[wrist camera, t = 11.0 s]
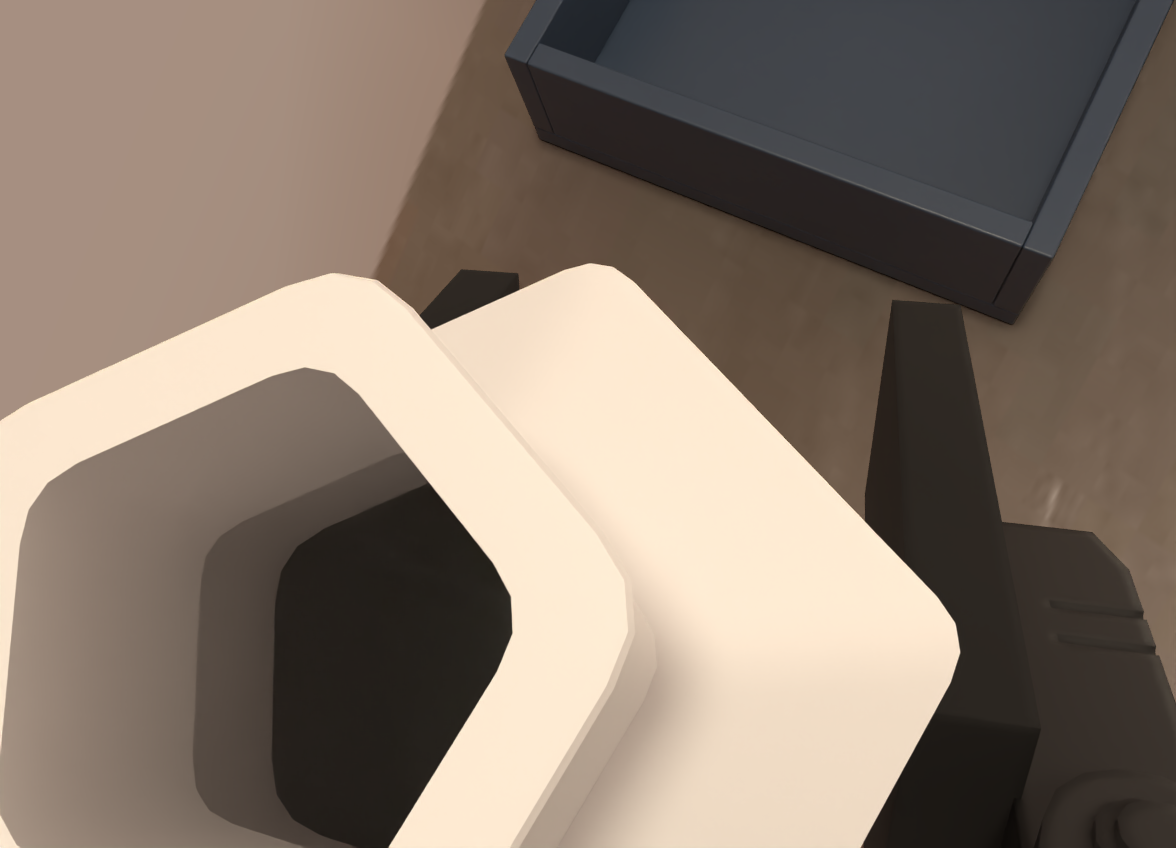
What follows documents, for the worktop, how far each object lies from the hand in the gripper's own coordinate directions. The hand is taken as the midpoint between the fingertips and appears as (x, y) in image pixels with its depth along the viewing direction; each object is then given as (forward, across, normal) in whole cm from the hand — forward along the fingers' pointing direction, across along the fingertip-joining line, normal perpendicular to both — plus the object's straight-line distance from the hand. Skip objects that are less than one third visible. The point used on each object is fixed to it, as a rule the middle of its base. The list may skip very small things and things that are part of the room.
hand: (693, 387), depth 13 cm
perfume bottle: (+1, 0, -7) cm, 7 cm away
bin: (+26, +2, 0) cm, 26 cm away
